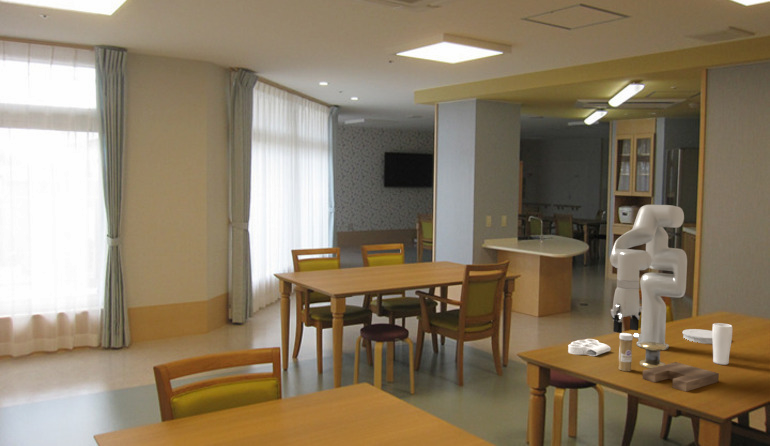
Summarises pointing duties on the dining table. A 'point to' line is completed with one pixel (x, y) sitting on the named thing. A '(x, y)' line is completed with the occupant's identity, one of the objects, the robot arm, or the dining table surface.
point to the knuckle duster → (588, 347)
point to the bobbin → (652, 354)
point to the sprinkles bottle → (625, 351)
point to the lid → (698, 335)
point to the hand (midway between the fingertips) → (625, 331)
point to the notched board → (681, 376)
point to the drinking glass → (721, 342)
